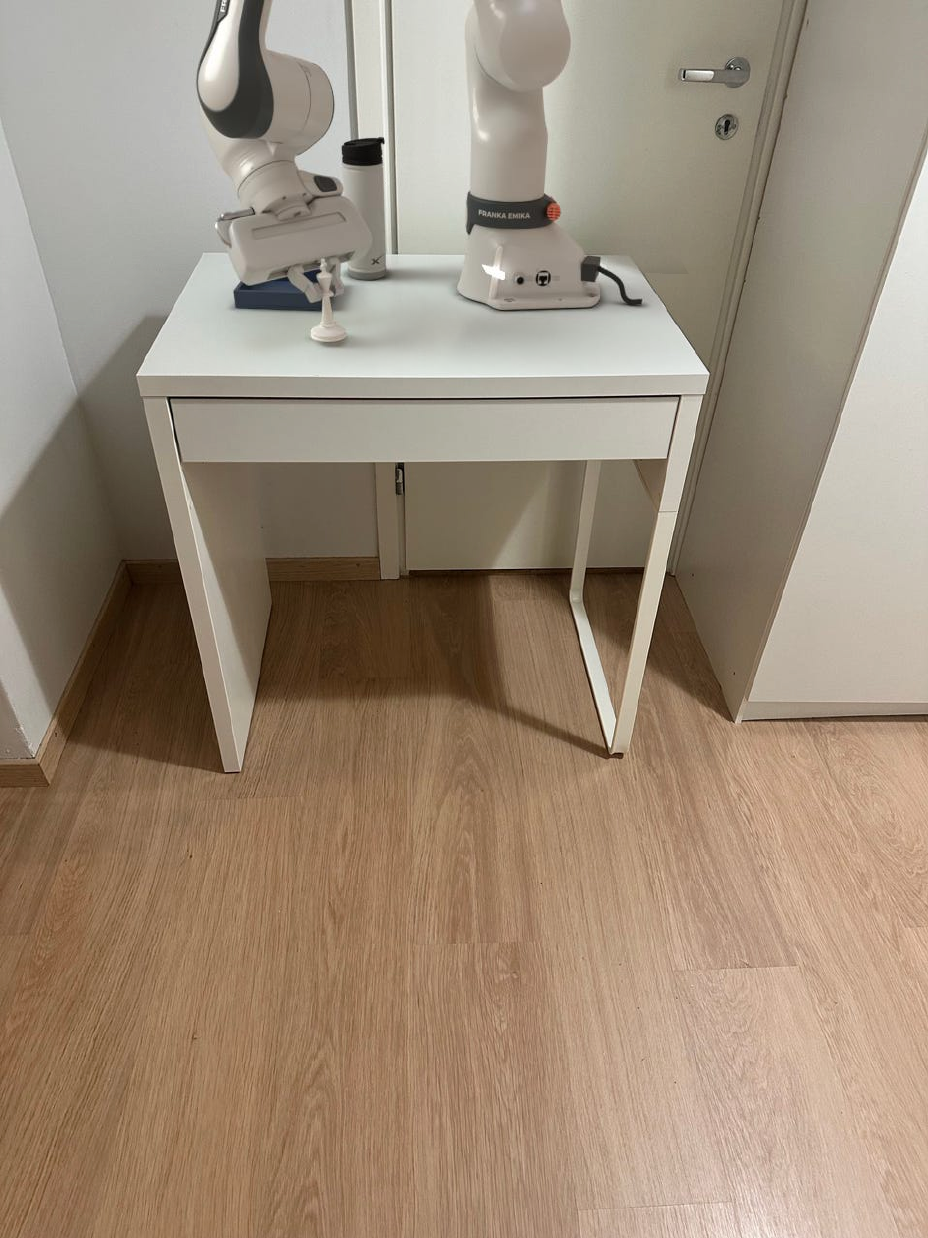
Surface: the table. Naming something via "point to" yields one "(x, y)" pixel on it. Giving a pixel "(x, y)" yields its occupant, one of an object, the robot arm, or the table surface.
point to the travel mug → (366, 201)
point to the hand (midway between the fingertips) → (328, 296)
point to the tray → (276, 295)
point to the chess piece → (327, 312)
